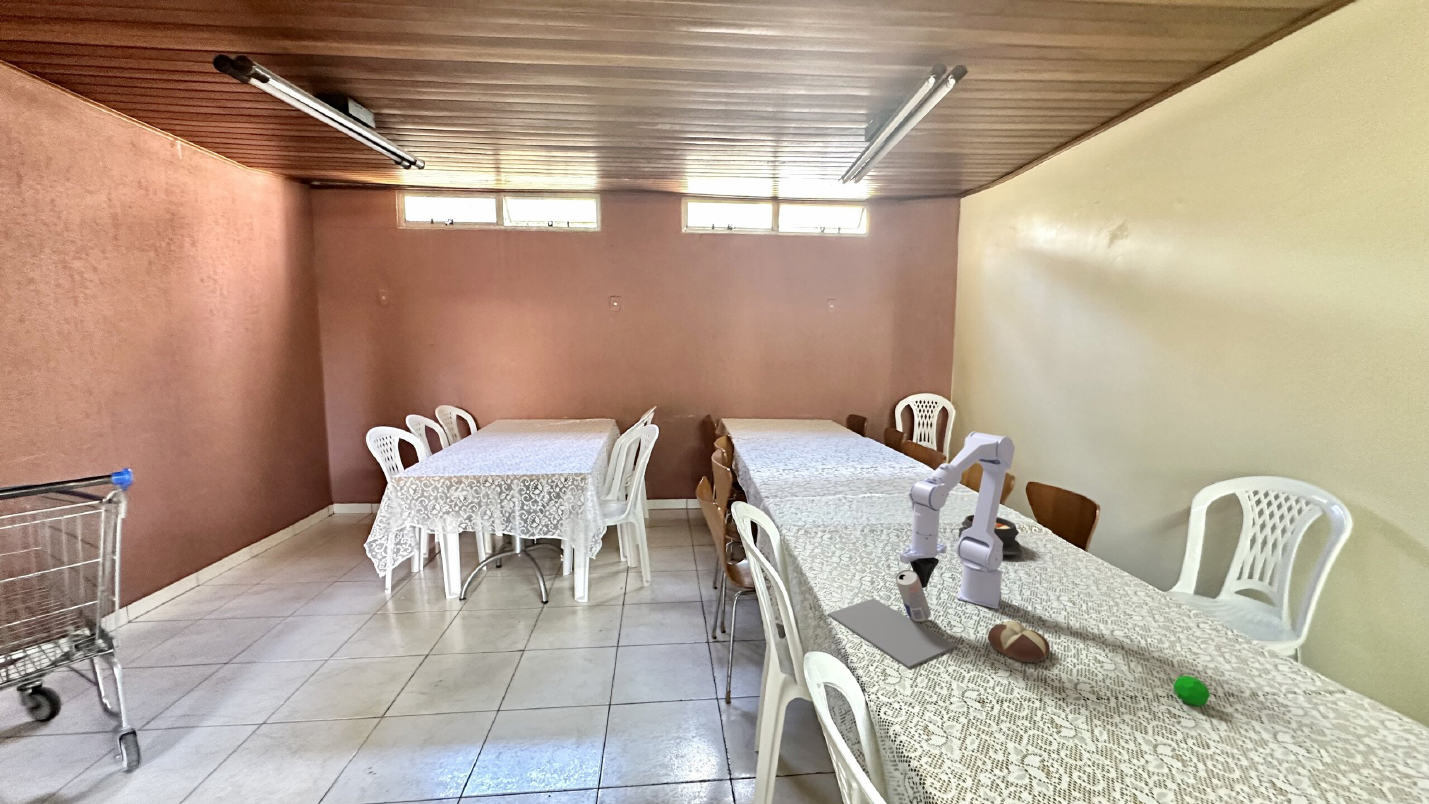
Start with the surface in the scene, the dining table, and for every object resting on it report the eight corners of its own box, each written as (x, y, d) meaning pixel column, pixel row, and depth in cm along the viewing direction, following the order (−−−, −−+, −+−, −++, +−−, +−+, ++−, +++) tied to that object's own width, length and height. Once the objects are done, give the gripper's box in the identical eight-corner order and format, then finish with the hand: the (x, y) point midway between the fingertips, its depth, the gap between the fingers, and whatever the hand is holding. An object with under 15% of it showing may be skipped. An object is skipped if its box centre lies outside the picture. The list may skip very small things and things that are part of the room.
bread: (978, 642, 117) (980, 621, 116) (1013, 632, 121) (1015, 611, 121) (1024, 670, 107) (1027, 648, 106) (1061, 658, 111) (1063, 637, 111)
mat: (873, 600, 135) (873, 598, 135) (957, 647, 114) (957, 645, 114) (827, 615, 127) (827, 613, 127) (908, 668, 106) (908, 666, 106)
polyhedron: (1214, 708, 96) (1217, 684, 96) (1196, 713, 95) (1199, 689, 94) (1183, 691, 101) (1186, 668, 100) (1165, 695, 99) (1168, 672, 99)
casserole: (945, 531, 187) (947, 508, 186) (998, 533, 186) (1000, 510, 185) (976, 559, 162) (978, 533, 162) (1037, 562, 162) (1039, 536, 161)
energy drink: (913, 603, 129) (900, 566, 125) (934, 608, 125) (921, 571, 121) (904, 619, 126) (891, 582, 122) (926, 625, 122) (912, 587, 118)
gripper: (930, 522, 130) (926, 573, 132) (890, 531, 123) (887, 585, 125) (955, 530, 124) (951, 584, 126) (915, 541, 117) (911, 598, 119)
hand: (921, 586), depth 125 cm, fingers closed
